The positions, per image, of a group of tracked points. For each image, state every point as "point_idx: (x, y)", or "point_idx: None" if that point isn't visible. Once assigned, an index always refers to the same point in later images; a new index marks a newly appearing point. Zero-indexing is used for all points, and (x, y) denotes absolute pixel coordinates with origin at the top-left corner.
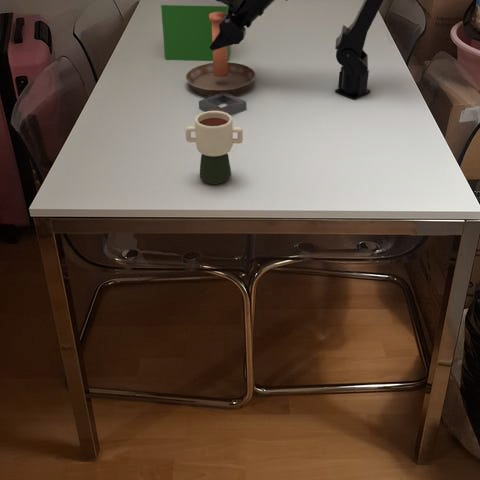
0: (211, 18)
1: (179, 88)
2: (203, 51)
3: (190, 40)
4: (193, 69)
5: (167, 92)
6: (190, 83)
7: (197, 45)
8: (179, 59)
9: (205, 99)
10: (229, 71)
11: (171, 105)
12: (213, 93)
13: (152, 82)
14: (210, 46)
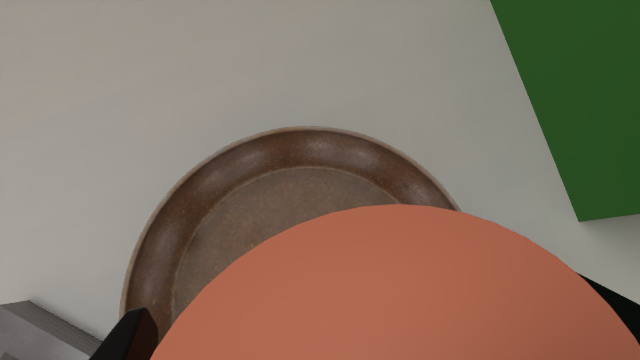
0: (161, 353)
1: (223, 131)
2: (567, 100)
3: (583, 12)
4: (348, 136)
5: (169, 101)
6: (171, 190)
7: (578, 59)
8: (501, 21)
9: (25, 331)
10: None
11: (41, 167)
12: None
13: (249, 9)
14: (118, 326)
